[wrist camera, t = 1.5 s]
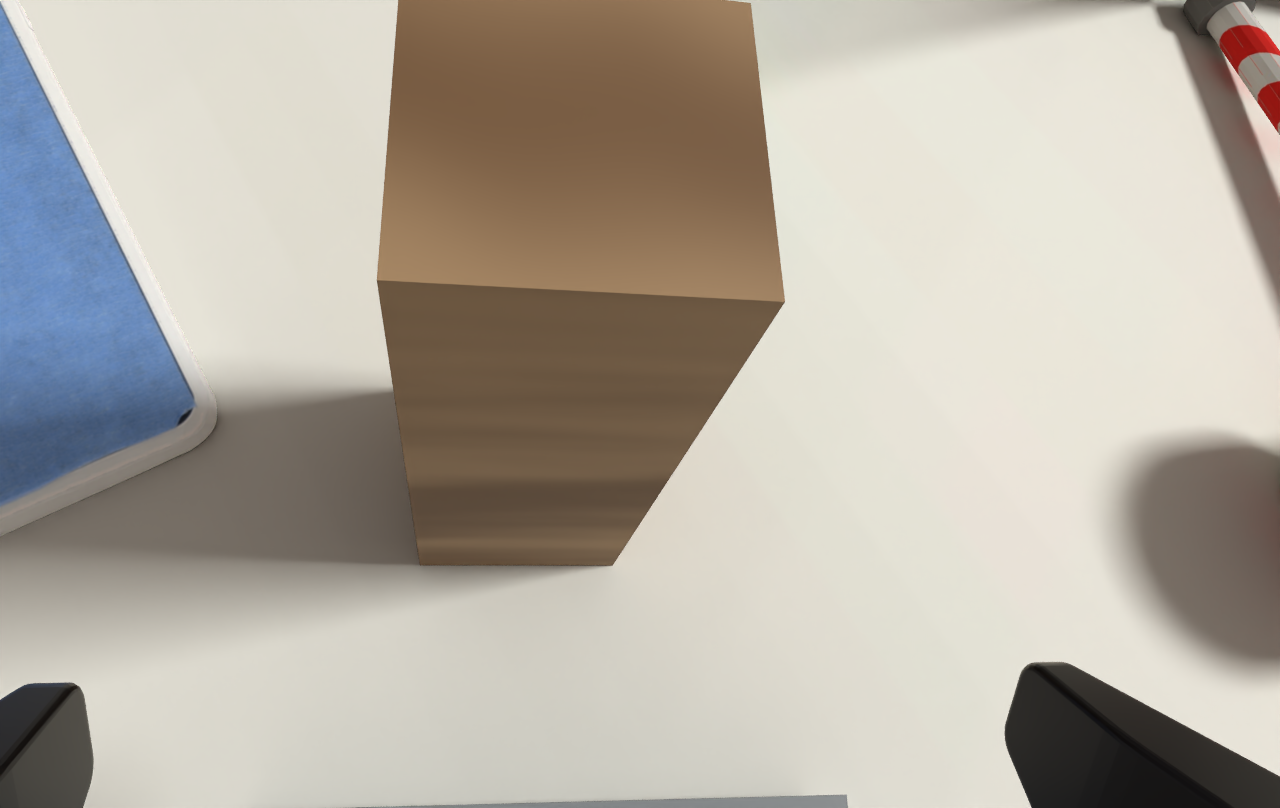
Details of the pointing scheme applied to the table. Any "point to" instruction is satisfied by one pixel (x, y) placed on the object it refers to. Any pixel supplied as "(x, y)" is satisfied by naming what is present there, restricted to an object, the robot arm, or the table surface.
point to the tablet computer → (76, 311)
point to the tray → (677, 803)
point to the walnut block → (567, 261)
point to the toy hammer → (1242, 47)
